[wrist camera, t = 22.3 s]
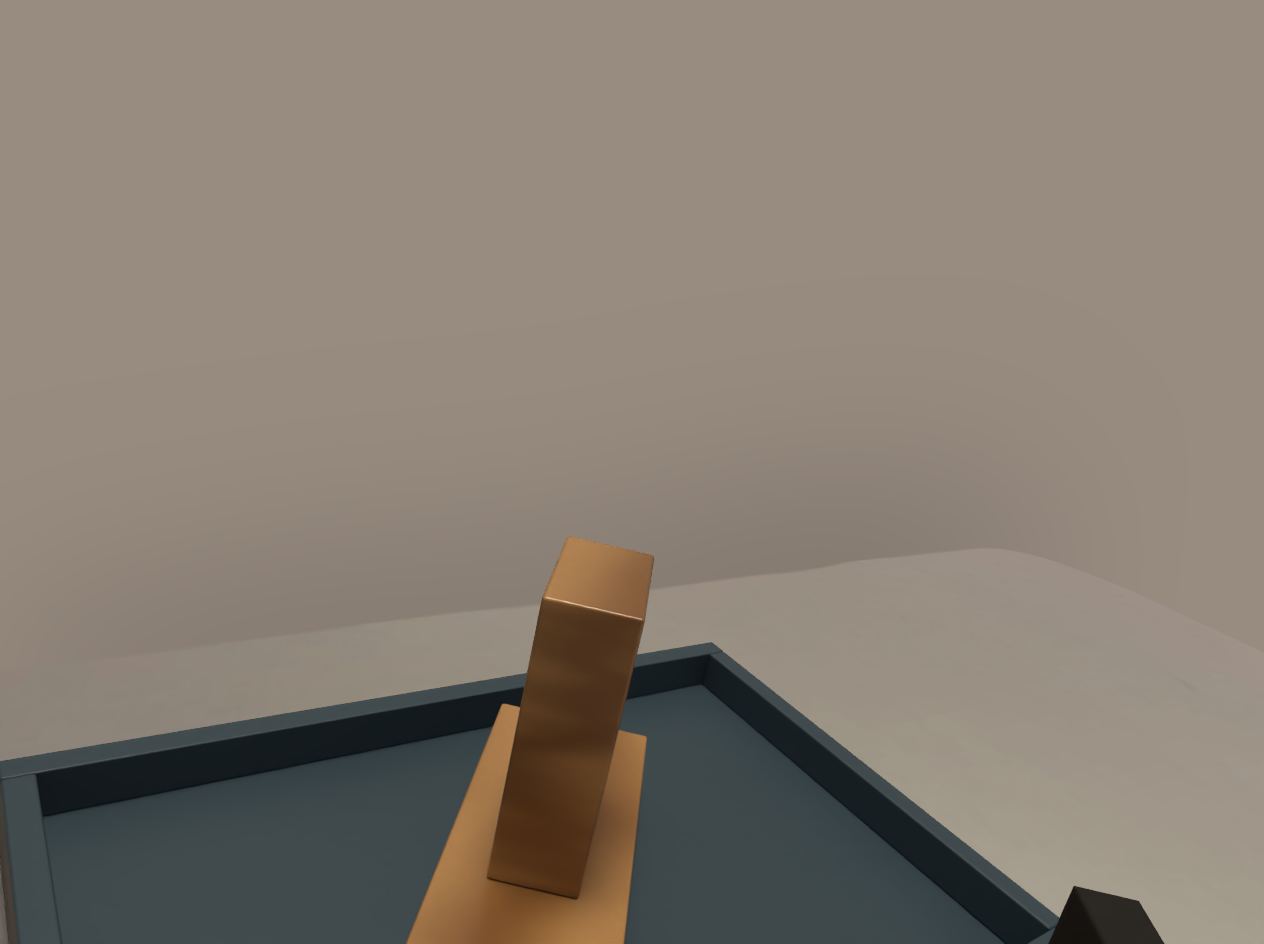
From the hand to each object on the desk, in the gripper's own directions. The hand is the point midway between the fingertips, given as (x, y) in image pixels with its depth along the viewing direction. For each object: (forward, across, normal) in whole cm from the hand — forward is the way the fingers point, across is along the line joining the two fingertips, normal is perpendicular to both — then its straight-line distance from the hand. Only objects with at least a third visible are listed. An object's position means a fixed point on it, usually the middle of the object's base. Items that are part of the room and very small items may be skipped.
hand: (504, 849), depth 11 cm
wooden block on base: (+12, 0, -12) cm, 17 cm away
